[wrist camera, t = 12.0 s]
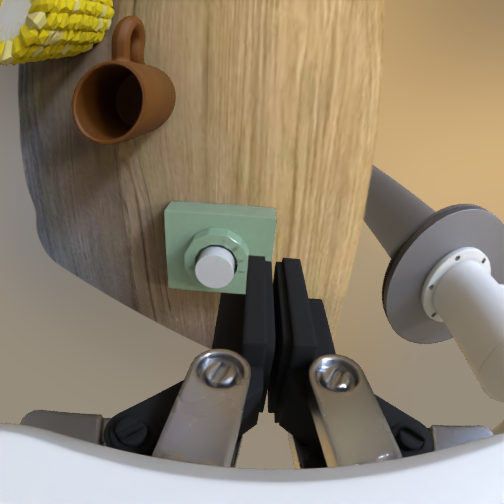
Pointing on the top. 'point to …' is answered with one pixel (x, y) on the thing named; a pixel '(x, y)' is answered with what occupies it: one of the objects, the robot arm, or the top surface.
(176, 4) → the top surface
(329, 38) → the top surface
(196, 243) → the green button base
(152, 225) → the top surface
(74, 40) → the food
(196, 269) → the grey push button
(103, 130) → the mug
